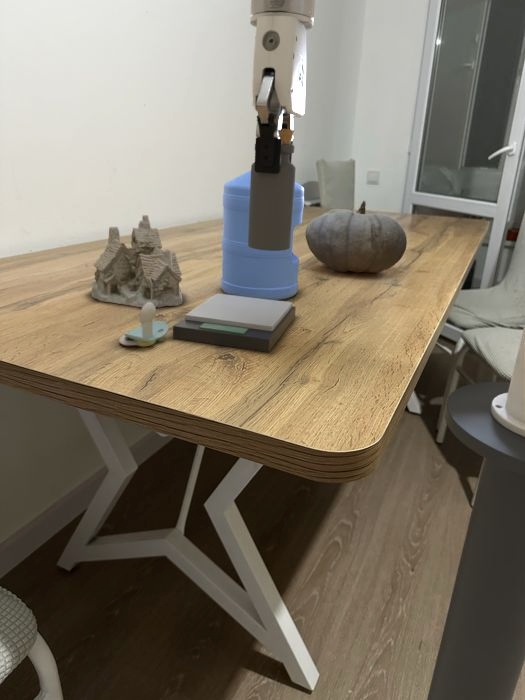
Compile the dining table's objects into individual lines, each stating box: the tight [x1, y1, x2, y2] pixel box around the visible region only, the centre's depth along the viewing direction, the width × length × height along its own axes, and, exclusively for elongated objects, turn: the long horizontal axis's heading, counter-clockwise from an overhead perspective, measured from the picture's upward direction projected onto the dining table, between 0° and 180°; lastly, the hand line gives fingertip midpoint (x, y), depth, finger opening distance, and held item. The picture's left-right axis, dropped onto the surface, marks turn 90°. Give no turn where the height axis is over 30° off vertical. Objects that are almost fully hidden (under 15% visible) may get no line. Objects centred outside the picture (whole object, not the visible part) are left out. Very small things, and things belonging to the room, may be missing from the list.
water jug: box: [220, 170, 305, 301], centre depth 101 cm, size 16×16×28 cm
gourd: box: [304, 200, 408, 274], centre depth 128 cm, size 25×25×17 cm
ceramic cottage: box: [90, 214, 184, 309], centre depth 95 cm, size 16×16×15 cm
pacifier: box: [118, 302, 169, 347], centre depth 75 cm, size 7×6×6 cm
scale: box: [172, 293, 297, 353], centre depth 84 cm, size 15×18×3 cm
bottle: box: [248, 129, 296, 251], centre depth 68 cm, size 6×6×15 cm
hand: (273, 170), depth 68 cm, fingers closed on bottle, 5 cm apart
